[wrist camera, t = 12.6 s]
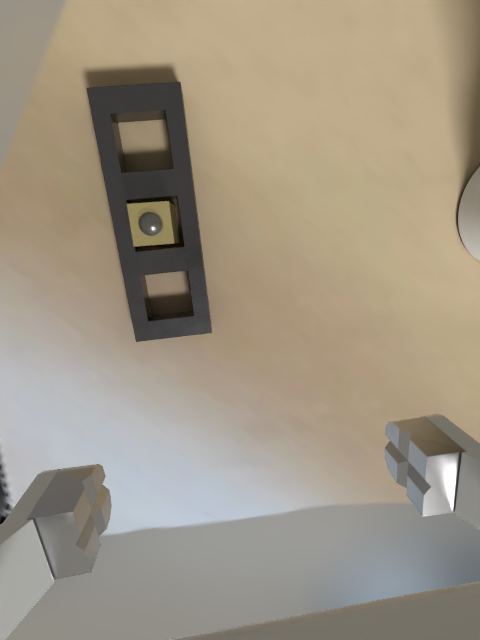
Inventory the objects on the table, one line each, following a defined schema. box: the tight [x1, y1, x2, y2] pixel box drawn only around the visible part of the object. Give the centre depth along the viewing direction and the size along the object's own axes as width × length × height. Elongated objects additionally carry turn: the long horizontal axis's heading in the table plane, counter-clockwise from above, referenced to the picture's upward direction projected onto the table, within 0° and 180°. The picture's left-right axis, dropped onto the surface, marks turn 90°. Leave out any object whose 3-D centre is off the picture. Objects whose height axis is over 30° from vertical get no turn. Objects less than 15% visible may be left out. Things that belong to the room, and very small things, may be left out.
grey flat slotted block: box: [87, 82, 212, 342], centre depth 35 cm, size 9×26×2 cm, turn 6°
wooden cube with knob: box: [127, 201, 180, 247], centre depth 33 cm, size 4×4×6 cm
